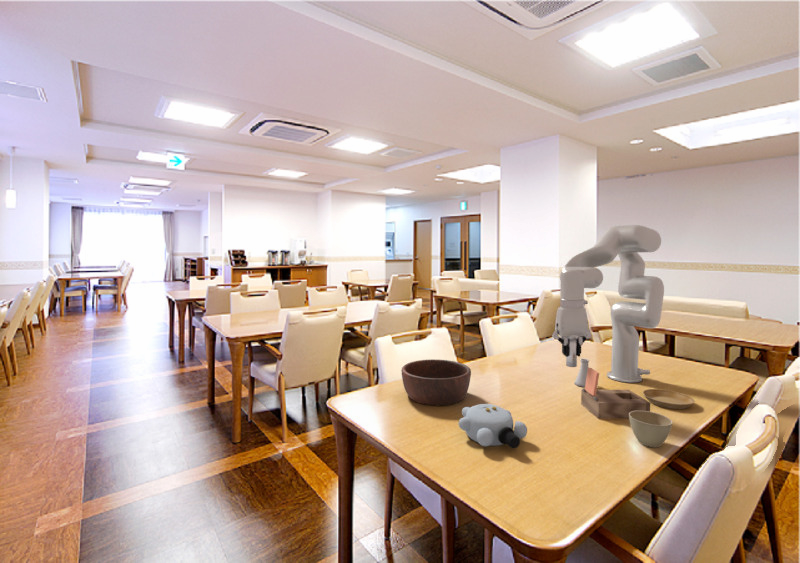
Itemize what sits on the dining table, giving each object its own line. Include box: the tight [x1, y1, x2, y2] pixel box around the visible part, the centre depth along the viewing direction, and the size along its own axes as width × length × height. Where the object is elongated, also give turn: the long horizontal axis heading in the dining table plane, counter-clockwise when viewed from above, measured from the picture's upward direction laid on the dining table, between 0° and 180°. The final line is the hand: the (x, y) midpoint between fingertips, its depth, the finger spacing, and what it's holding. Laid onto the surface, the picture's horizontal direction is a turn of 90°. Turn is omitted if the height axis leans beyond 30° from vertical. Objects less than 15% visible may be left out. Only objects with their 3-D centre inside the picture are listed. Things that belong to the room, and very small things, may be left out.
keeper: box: [584, 367, 600, 396], centre depth 129 cm, size 8×6×1 cm
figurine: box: [458, 403, 528, 450], centre depth 111 cm, size 17×8×20 cm
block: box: [580, 387, 651, 420], centre depth 130 cm, size 16×12×6 cm
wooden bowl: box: [400, 359, 472, 406], centre depth 144 cm, size 25×25×10 cm
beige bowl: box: [629, 411, 674, 448], centre depth 108 cm, size 10×10×7 cm
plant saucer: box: [642, 388, 696, 410], centre depth 137 cm, size 15×15×3 cm
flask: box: [573, 358, 590, 388], centre depth 156 cm, size 7×7×10 cm
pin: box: [565, 335, 579, 368], centre depth 140 cm, size 5×5×12 cm
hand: (571, 355), depth 140 cm, fingers closed on pin, 3 cm apart
